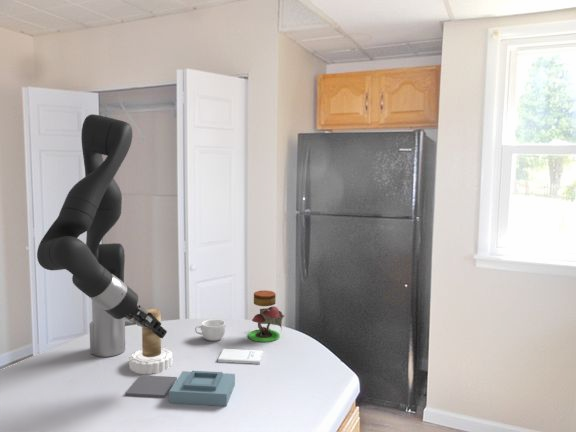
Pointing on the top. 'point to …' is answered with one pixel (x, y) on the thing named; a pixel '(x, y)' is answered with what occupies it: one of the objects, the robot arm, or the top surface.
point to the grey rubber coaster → (151, 386)
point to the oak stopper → (151, 338)
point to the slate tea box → (202, 388)
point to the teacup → (212, 329)
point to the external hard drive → (241, 356)
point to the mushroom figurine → (266, 317)
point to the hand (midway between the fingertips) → (158, 332)
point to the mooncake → (150, 362)
